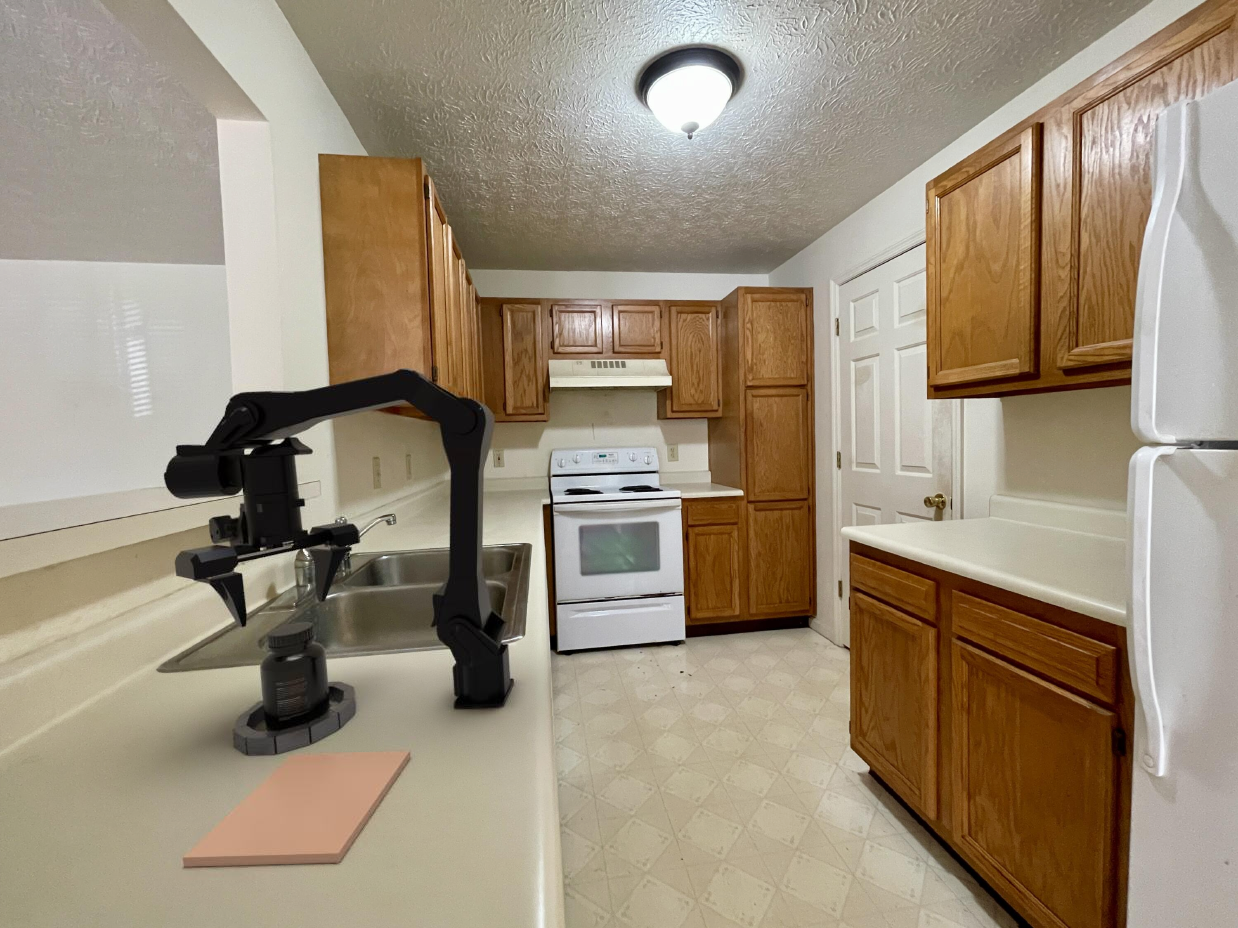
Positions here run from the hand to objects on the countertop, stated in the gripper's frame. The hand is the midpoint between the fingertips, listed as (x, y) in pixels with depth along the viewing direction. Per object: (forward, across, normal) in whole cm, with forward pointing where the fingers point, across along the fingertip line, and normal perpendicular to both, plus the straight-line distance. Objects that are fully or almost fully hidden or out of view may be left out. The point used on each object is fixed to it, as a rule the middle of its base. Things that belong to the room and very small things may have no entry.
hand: (284, 613), depth 62 cm
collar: (+13, +1, +3) cm, 14 cm away
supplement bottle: (+13, +1, +3) cm, 14 cm away
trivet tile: (+13, +8, +20) cm, 25 cm away
